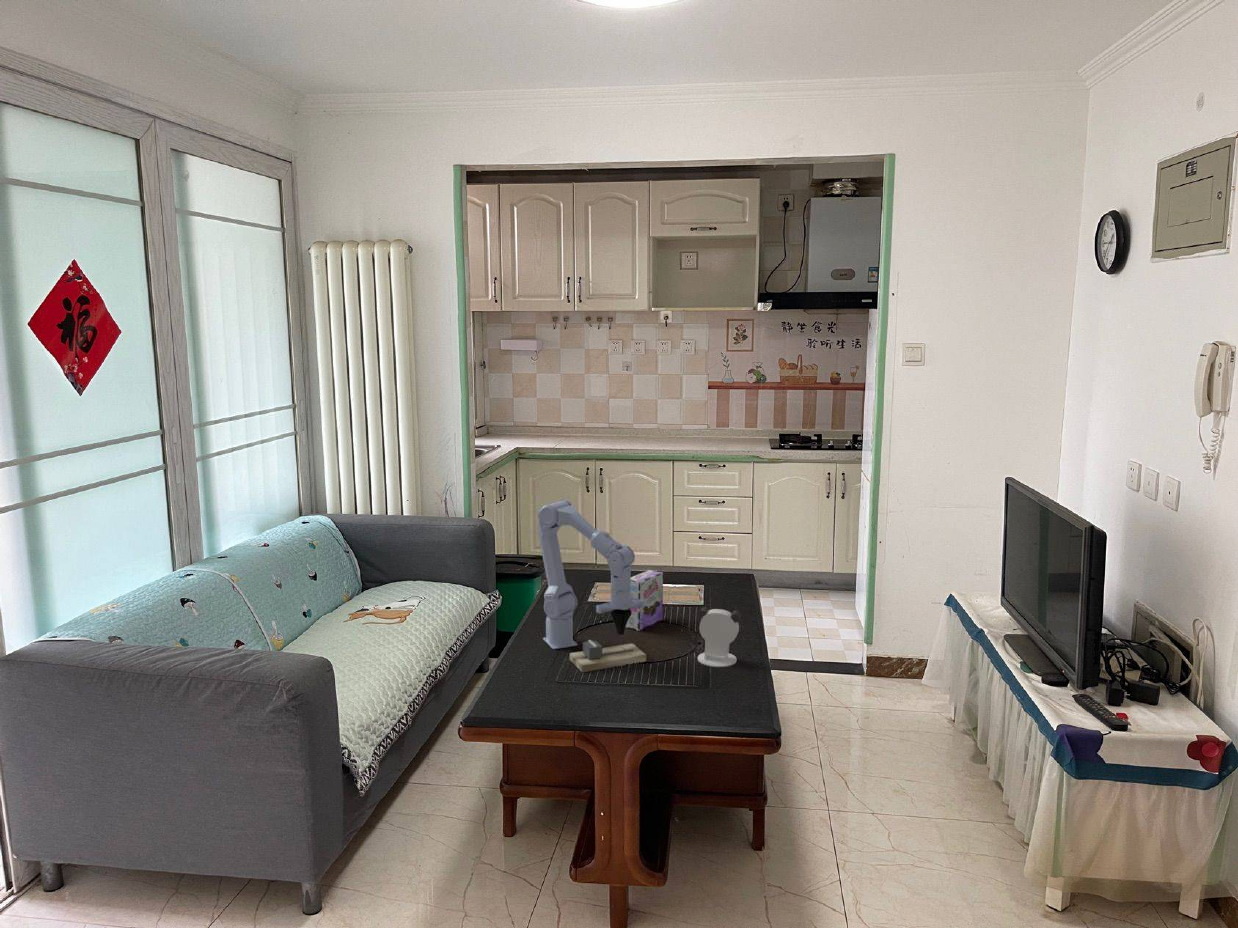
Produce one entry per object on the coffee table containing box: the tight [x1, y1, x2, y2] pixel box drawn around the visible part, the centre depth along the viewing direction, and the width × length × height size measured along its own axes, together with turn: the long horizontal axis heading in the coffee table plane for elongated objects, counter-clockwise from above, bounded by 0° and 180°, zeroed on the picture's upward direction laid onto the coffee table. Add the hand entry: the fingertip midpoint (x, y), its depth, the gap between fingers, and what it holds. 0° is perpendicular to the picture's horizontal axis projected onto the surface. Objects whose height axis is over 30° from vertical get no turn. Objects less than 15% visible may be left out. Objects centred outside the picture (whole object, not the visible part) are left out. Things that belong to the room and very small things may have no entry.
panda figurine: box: [697, 606, 742, 668], centre depth 256 cm, size 12×11×15 cm
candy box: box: [625, 569, 664, 632], centre depth 286 cm, size 14×6×16 cm, turn 143°
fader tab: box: [582, 639, 603, 659], centre depth 254 cm, size 5×4×4 cm
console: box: [569, 643, 647, 673], centre depth 256 cm, size 10×20×2 cm, turn 114°
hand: (620, 633), depth 257 cm, fingers closed
